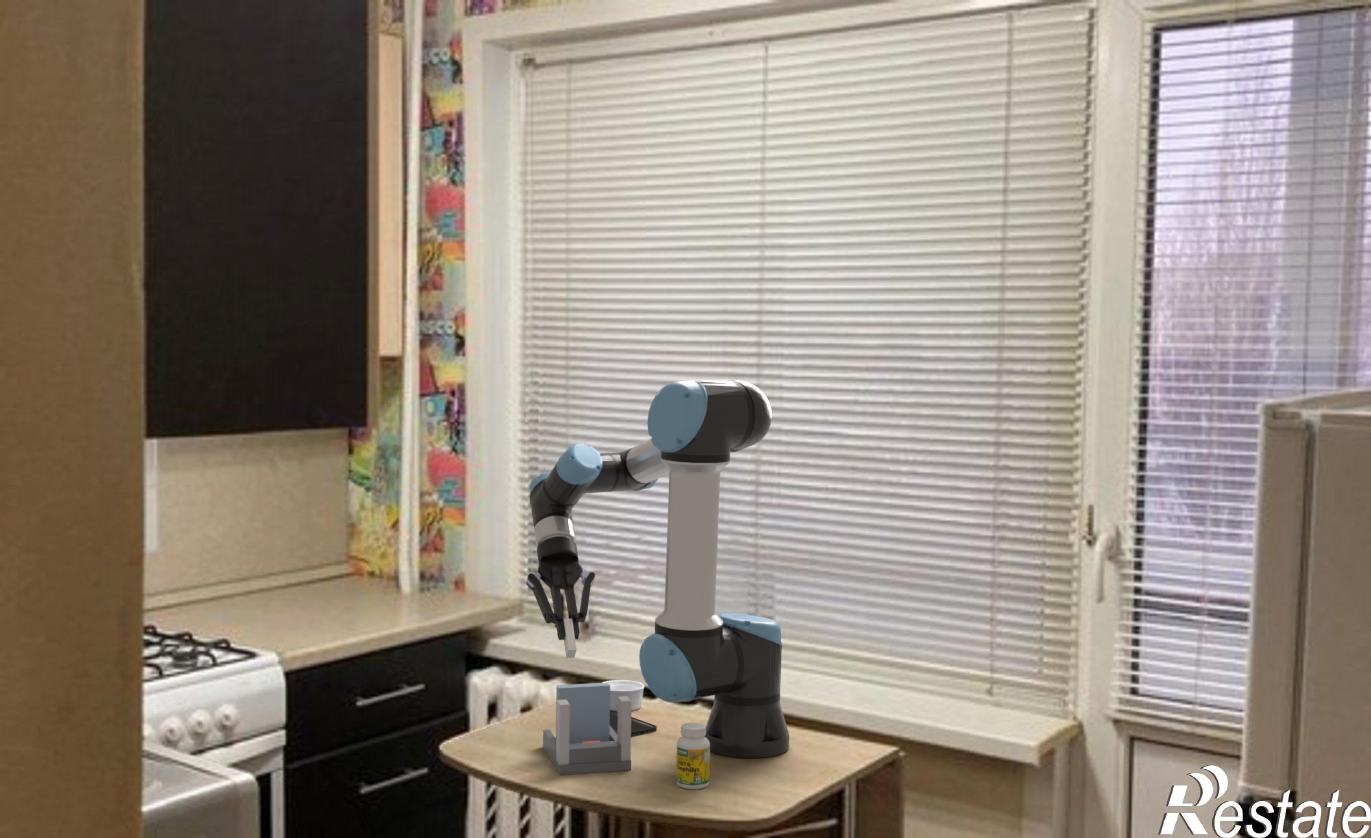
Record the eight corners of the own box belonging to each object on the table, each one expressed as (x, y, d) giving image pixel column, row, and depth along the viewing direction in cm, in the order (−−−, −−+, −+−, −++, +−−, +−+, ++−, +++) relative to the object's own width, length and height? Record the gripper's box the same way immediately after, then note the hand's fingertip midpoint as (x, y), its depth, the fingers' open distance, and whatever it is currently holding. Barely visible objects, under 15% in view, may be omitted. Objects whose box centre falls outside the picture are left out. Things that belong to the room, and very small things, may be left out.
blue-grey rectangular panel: (555, 742, 236) (556, 685, 236) (606, 739, 239) (607, 682, 238) (557, 745, 234) (558, 688, 234) (609, 742, 237) (610, 685, 236)
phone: (610, 708, 262) (659, 726, 251) (609, 714, 262) (659, 732, 251) (576, 715, 257) (625, 733, 246) (576, 721, 257) (625, 739, 246)
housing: (542, 746, 240) (543, 681, 239) (610, 742, 243) (610, 678, 242) (559, 774, 224) (560, 705, 224) (631, 769, 228) (632, 701, 227)
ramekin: (602, 699, 272) (602, 678, 272) (646, 701, 271) (647, 680, 271) (595, 711, 263) (595, 689, 263) (640, 713, 262) (641, 691, 262)
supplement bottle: (714, 781, 222) (715, 723, 222) (702, 791, 217) (703, 732, 217) (683, 777, 224) (684, 719, 224) (670, 787, 219) (671, 728, 219)
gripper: (587, 556, 263) (603, 663, 248) (519, 558, 260) (532, 666, 245) (593, 533, 258) (610, 640, 243) (524, 534, 254) (537, 643, 240)
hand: (571, 653), depth 244 cm, fingers closed
